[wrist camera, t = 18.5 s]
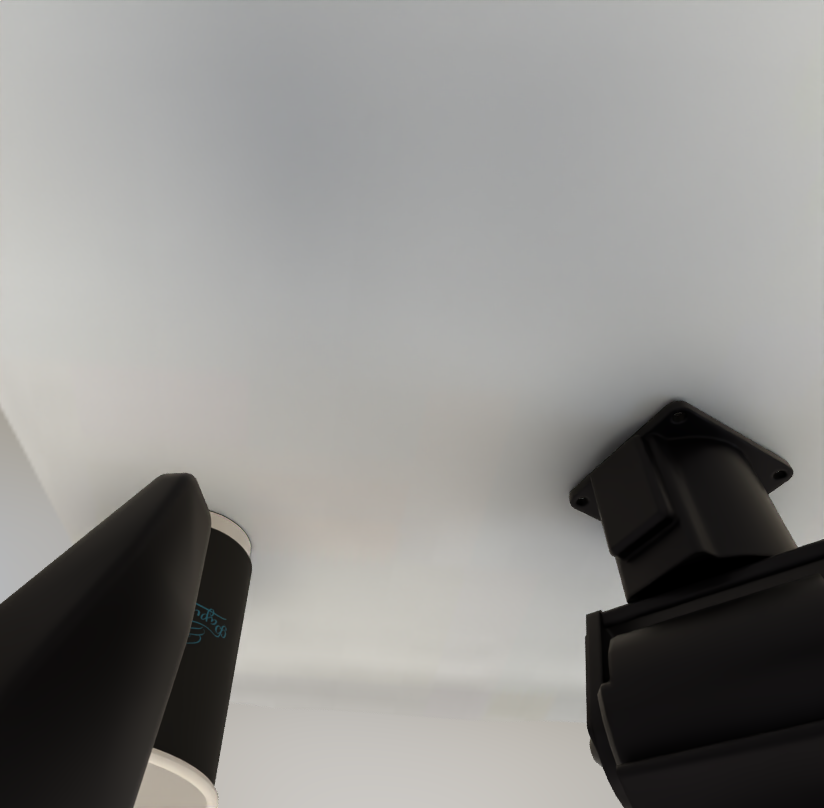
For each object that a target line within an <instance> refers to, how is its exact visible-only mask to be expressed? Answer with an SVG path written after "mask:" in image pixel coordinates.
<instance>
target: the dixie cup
mask: <svg viewBox="0 0 824 808" xmlns="http://www.w3.org/2000/svg"><path fill="white" fill-rule="evenodd" d="M210 515H211V532H210V537H209V542H208V547H207V551H206V556H205V561H204V566H203V571H202V576H201V581H200V586H199V591H198V596H197V601H196V606H195V611H194V615H193V620H192V624H191V628H190V632H189V636H188V639H187V642H186V646H185V649H184V652H183V655H182V658H181V662H180V665H179V668H178V671H177V674H176V677H175V680H174V683H173V686H172V690H171V693H170V696H169V699H168V702H167V705H166V708H165V711H164V714H163V717H162V721H161V724H160V727H159V730H158V733H157V736H156V739H155V742H154V745H153V749H152V752H151V755H150V758H149V761H148V764H147V767H146V770H145V773H144V776H143V780H142V783H141V786H140V789H139V792H138V795H137V798H136V801H135V804H134V808H217V807H218V793H217V791H216V788H215V787H214V785H215V779H216V773H217V768H218V762H219V756H220V750H221V745H222V739H223V733H224V727H225V722H226V716H227V710H228V705H229V699H230V693H231V687H232V682H233V676H234V670H235V664H236V659H237V653H238V647H239V641H240V636H241V630H242V624H243V619H244V613H245V607H246V601H247V596H248V590H249V584H250V578H251V573H252V564H251V560H250V553H251V545H250V541H249V539H248V537H247V535H246V534H245V532H244V531H243V530H242V529H241V528H240V527H239V526H238V525H237V524H235V523H234V522H232V521H231V520H229V519H227V518H226V517H224V516H221V515H219V514H216V513H214V512H210Z"/></svg>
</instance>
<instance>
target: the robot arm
mask: <svg viewBox="0 0 824 808" xmlns="http://www.w3.org/2000/svg"><path fill="white" fill-rule="evenodd" d="M679 412H682V413H681V414H680V415H678V416H674V414H676V413H679ZM778 471H779V472H778ZM792 475H793V469H792V468H791V466H790V465H789V463H788V462H787V461H786V460H784V459H782V458H780V457H779V456H777V455H775V454H774V453H772V452H770V451H769V450H767V449H765V448H763V447H762V446H760V445H758V444H757V443H755V442H753V441H751V440H750V439H748V438H746V437H745V436H743V435H741V434H740V433H738V432H736V431H734V430H733V429H731V428H729V427H728V426H726V425H724V424H722V423H721V422H719V421H717V420H716V419H714V418H712V417H711V416H709V415H707V414H705V413H704V412H702V411H700V410H699V409H697V408H695V407H693V406H692V405H690V404H688V403H687V402H684V401H674V402H671V403H669V404H668V405H666V406H665V407H664V408H663V409H662V410H661V411H660V412H659V413H657V414H656V415H655V416H654V417H653V418H652V419H651V420H650V421H648V422H647V423H646V424H645V425H644V426H643V427H642V428H641V429H640V430H638V431H637V432H636V433H635V434H634V435H633V436H632V437H631V438H630V439H628V440H627V441H626V442H625V443H624V444H623V445H622V446H621V447H619V448H618V449H617V450H616V451H615V452H614V453H613V454H612V455H611V456H609V457H608V458H607V459H606V460H605V461H604V462H603V463H602V464H601V465H599V466H598V467H597V468H596V469H595V470H594V471H593V472H592V473H590V474H589V475H588V476H587V477H586V478H585V479H584V480H583V481H582V482H580V483H579V484H578V485H577V486H576V487H575V488H574V489H573V490H572V491H571V492H570V493H569V499H570V503H571V506H572V507H574V508H575V509H577V510H579V511H581V512H583V513H585V514H587V515H589V516H591V517H594V518H596V519H598V520H600V521H602V525H603V529H604V533H605V537H606V541H607V544H608V548H609V552H610V554H611V555H612V556H614V557H615V559H616V563H617V566H618V570H619V574H620V578H621V581H622V585H623V589H624V592H625V596H626V600H627V603H628V604H626V605H623V606H620V607H617V608H614V609H611V610H607V611H604V612H602V611H601V610H599V611H596V612H593V613H590V614H587V615H586V636H585V652H586V703H587V729H588V732H589V735H590V738H591V739H590V749H591V753H592V756H593V758H594V760H595V761H596V762H597V763H598V764H599V765H601V766H602V767H603V769H604V771H605V774H606V776H607V779H608V781H609V783H610V785H611V787H612V789H613V790H614V792H615V795H616V796H617V798H618V799H619V801H620V802H621V803H622V805H623V807H624V808H824V539H822V540H819V541H816V542H813V543H810V544H807V545H804V546H801V547H797V545H796V543H795V541H794V540H793V538H792V536H791V534H790V533H789V531H788V529H787V527H786V526H785V524H784V522H783V520H782V519H781V517H780V515H779V513H778V512H777V510H776V508H775V506H774V504H773V503H772V501H771V499H770V497H769V496H768V494H769V493H771V492H772V491H774V490H775V489H776V488H778V487H779V486H781V485H782V484H784V483H785V482H786V481H788V480H789V479H790V478H791V477H792ZM583 497H584V498H583ZM579 498H583V499H579ZM210 532H211V515H210V511H209V509H208V506H207V504H206V502H205V499H204V497H203V494H202V492H201V489H200V487H199V484H198V482H197V480H196V478H195V477H194V476H193V475H192V474H188V473H172V474H163V475H160V476H159V477H157V478H156V479H155V480H153V481H152V482H151V483H150V484H149V485H147V486H146V487H145V488H144V489H142V490H141V491H140V492H139V493H137V494H136V495H135V496H134V497H132V498H131V499H130V500H129V501H127V502H126V503H125V504H124V505H122V506H121V507H120V508H119V509H118V510H116V511H115V512H114V513H113V514H111V515H110V516H109V517H108V518H106V519H105V520H104V521H103V522H101V523H100V524H99V525H98V526H96V527H95V528H94V529H93V530H91V531H90V532H89V533H88V534H87V535H85V536H84V537H83V538H82V539H80V540H79V541H78V542H77V543H75V544H74V545H73V546H72V547H70V548H69V549H68V550H67V551H65V552H64V553H63V554H62V555H61V556H59V557H58V558H57V559H56V560H54V561H53V562H52V563H51V564H49V565H48V566H47V567H46V568H44V569H43V570H42V571H41V572H40V573H38V574H37V575H36V576H35V577H34V578H32V579H31V580H30V581H28V582H27V583H26V584H25V585H23V586H22V587H21V588H20V589H18V590H17V591H16V592H15V593H13V594H12V595H11V596H10V597H8V598H7V599H6V600H5V601H3V602H2V603H1V604H0V808H134V804H135V801H136V798H137V795H138V792H139V789H140V786H141V783H142V780H143V776H144V773H145V770H146V767H147V764H148V761H149V758H150V755H151V752H152V749H153V745H154V742H155V739H156V736H157V733H158V730H159V727H160V724H161V721H162V717H163V714H164V711H165V708H166V705H167V702H168V699H169V696H170V693H171V690H172V686H173V683H174V680H175V677H176V674H177V671H178V668H179V665H180V662H181V658H182V655H183V652H184V649H185V646H186V642H187V639H188V636H189V632H190V628H191V624H192V620H193V615H194V611H195V606H196V601H197V596H198V591H199V586H200V581H201V576H202V571H203V566H204V561H205V556H206V551H207V547H208V542H209V537H210Z"/></svg>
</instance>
